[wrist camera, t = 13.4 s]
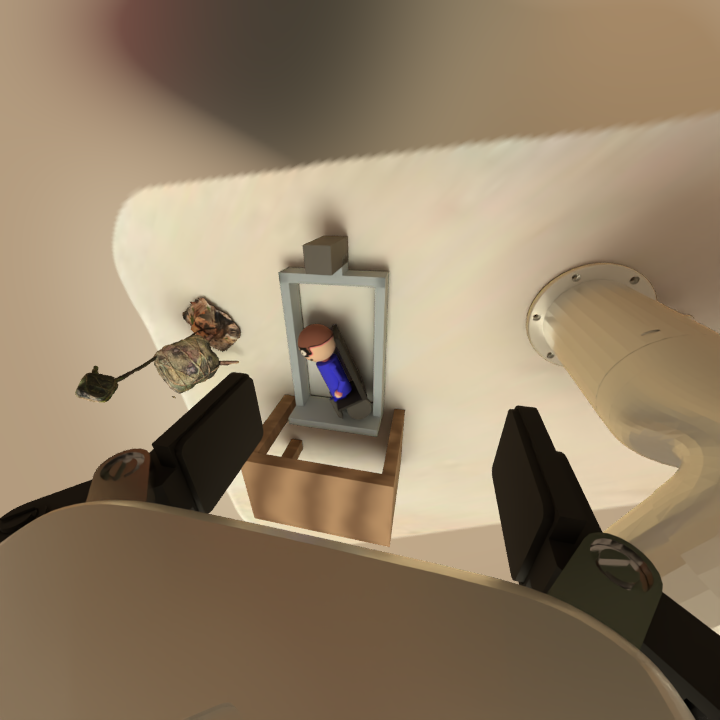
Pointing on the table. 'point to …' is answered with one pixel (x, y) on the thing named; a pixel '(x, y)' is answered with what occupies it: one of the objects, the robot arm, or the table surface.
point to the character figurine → (335, 369)
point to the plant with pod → (177, 355)
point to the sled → (321, 267)
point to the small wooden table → (323, 486)
